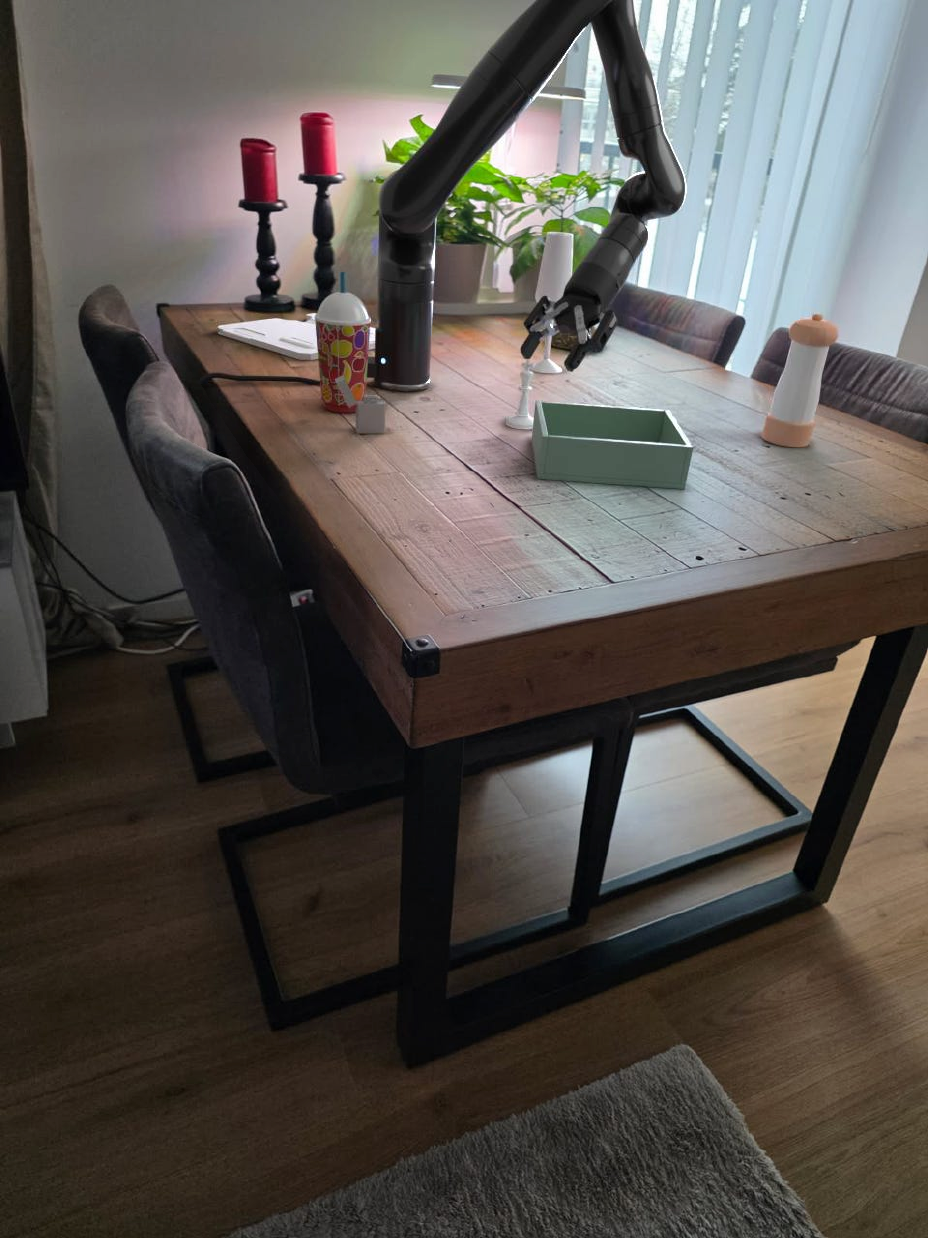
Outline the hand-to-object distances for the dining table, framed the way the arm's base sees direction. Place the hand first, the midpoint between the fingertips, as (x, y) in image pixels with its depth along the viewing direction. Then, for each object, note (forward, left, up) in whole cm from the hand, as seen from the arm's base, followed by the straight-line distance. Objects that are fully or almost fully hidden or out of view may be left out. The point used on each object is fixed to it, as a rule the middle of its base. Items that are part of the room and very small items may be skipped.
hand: (545, 362), depth 131 cm
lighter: (-27, -12, -9) cm, 31 cm away
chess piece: (-3, -3, -9) cm, 10 cm away
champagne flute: (+3, +34, -9) cm, 35 cm away
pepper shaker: (+39, -1, -9) cm, 40 cm away
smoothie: (-31, -1, -9) cm, 32 cm away
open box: (+8, -18, -9) cm, 22 cm away
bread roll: (+11, +57, -9) cm, 59 cm away
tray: (-44, +46, -9) cm, 64 cm away
